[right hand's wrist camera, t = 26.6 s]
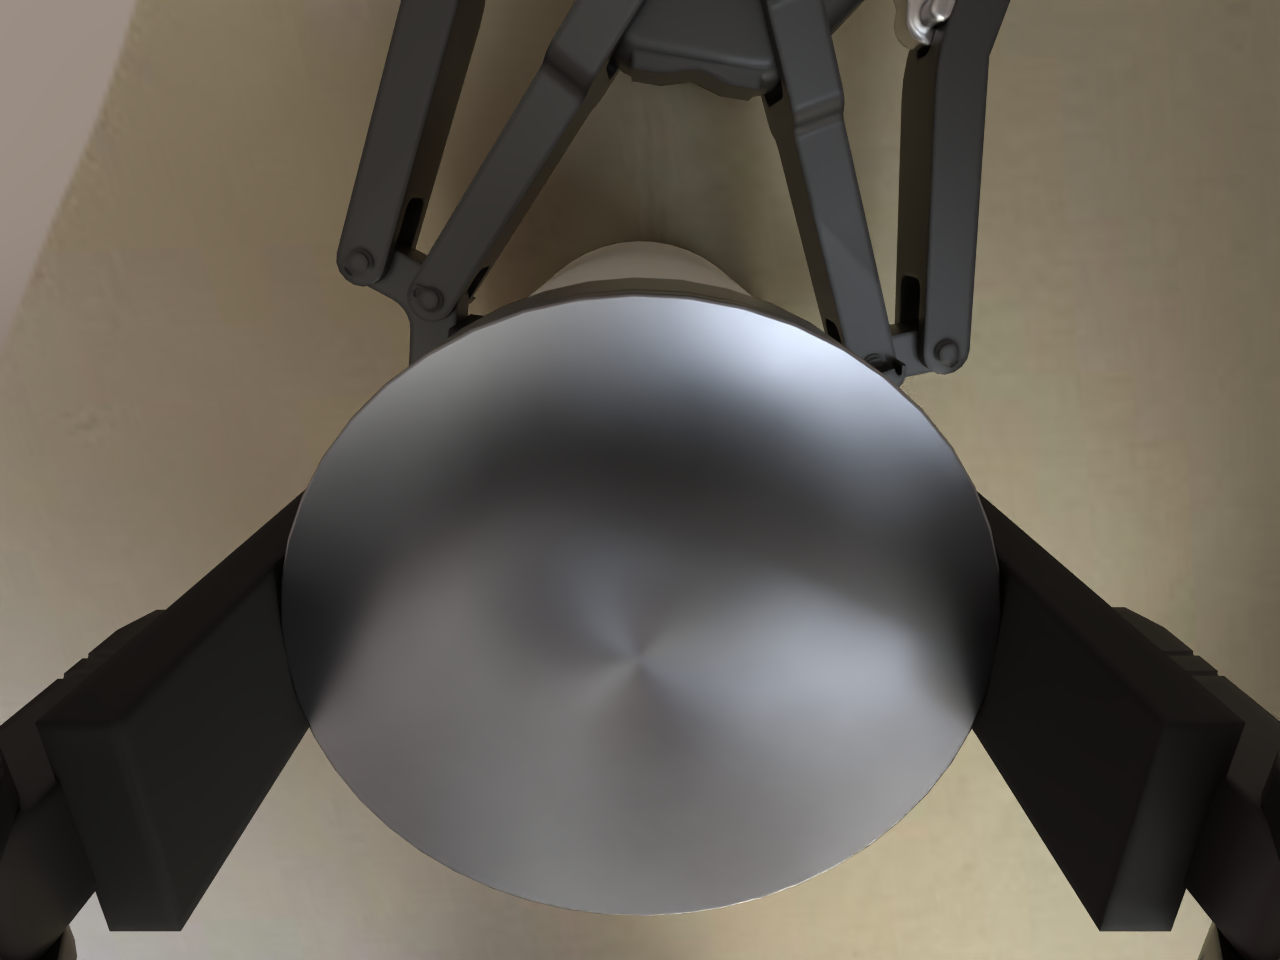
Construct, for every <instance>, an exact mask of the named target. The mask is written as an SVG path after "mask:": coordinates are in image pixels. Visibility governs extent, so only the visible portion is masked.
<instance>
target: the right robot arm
mask: <svg viewBox="0 0 1280 960" xmlns="http://www.w3.org/2000/svg"><path fill="white" fill-rule="evenodd" d="M304 492H305V490H304V491H303V492H302V493H301V494H300V495H299V496H297V497H296V498H295V499H294V500H293V501H292V502H290V503H289V504H288V505H287V506H286V507H285V508H283V509H282V510H281V511H280V512H279V513H278V514H277V515H275V516H274V517H273V518H272V519H271V520H270V521H268V522H267V523H266V524H265V525H264V526H263V527H261V528H260V529H259V530H258V531H257V532H256V533H254V534H253V535H252V536H251V537H250V538H249V539H247V540H246V541H245V542H244V543H243V544H242V545H240V546H239V547H238V548H237V549H236V550H235V551H234V552H232V553H231V554H230V555H229V556H228V557H227V558H225V559H224V560H223V561H222V562H221V563H220V564H218V565H217V566H216V567H215V568H214V569H213V570H211V571H210V572H209V573H208V574H207V575H206V576H204V577H203V578H202V579H201V580H200V581H199V582H198V583H196V584H195V585H194V586H193V587H192V588H191V589H189V590H188V591H187V592H186V593H185V594H184V595H182V596H181V597H180V598H179V599H178V600H177V601H175V602H174V603H173V604H172V605H171V606H170V607H168V608H167V609H166V610H155V611H153V612H151V613H149V614H148V615H146V616H144V617H142V618H140V619H138V620H136V621H134V622H132V623H130V624H128V625H126V626H124V627H122V628H120V629H118V630H117V631H115V632H114V633H113V634H112V635H111V636H109V637H108V638H107V639H106V640H104V641H103V642H102V643H101V644H100V645H98V646H97V647H96V648H95V649H93V650H92V651H91V652H90V653H89V654H88V655H89V656H88V658H82V659H81V660H80V661H79V662H78V663H76V664H75V665H74V666H73V667H72V668H70V669H69V670H68V671H67V672H65V673H64V678H63V679H57V680H56V681H54V682H53V683H52V684H51V685H50V686H48V687H47V688H46V689H45V690H43V691H42V692H41V693H40V694H39V695H37V696H36V697H35V698H34V699H32V700H31V701H30V702H29V703H28V704H26V705H25V706H24V707H23V708H21V709H20V710H19V711H18V712H17V713H15V714H14V715H13V716H12V717H10V718H9V719H8V720H7V721H6V722H4V723H3V724H2V725H1V726H0V960H76V959H77V953H76V946H75V939H74V937H73V934H72V931H71V929H70V926H69V924H70V922H71V921H72V920H73V919H74V917H75V916H76V915H77V913H78V912H79V911H80V910H81V908H82V907H83V906H84V905H85V903H86V902H87V901H88V900H89V898H90V897H91V896H92V894H93V893H94V892H95V891H96V894H97V897H98V900H99V903H100V905H101V908H102V911H103V914H104V916H105V919H106V922H107V925H108V928H109V930H110V931H181V930H182V928H183V927H184V925H185V924H186V922H187V920H188V919H189V917H190V916H191V914H192V912H193V911H194V909H195V908H196V906H197V905H198V903H199V901H200V900H201V898H202V897H203V895H204V893H205V892H206V890H207V889H208V887H209V885H210V884H211V882H212V881H213V879H214V878H215V876H216V874H217V873H218V871H219V870H220V868H221V866H222V865H223V863H224V862H225V860H226V858H227V857H228V855H229V854H230V852H231V850H232V849H233V847H234V846H235V844H236V843H237V841H238V839H239V838H240V836H241V835H242V833H243V831H244V830H245V828H246V827H247V825H248V823H249V822H250V820H251V819H252V817H253V816H254V814H255V812H256V811H257V809H258V808H259V806H260V804H261V803H262V801H263V800H264V798H265V796H266V795H267V793H268V792H269V790H270V789H271V787H272V785H273V784H274V782H275V781H276V779H277V777H278V776H279V774H280V773H281V771H282V769H283V768H284V766H285V765H286V763H287V762H288V760H289V758H290V757H291V755H292V754H293V752H294V750H295V749H296V747H297V746H298V744H299V742H300V741H301V739H302V738H303V736H304V735H305V733H306V731H307V730H308V728H309V725H308V722H307V720H306V718H305V716H304V714H303V712H302V709H301V707H300V705H299V703H298V700H297V697H296V694H295V690H294V687H293V684H292V680H291V677H290V672H289V668H288V663H287V658H286V653H285V647H284V642H283V636H282V629H281V578H282V572H283V566H284V560H285V554H286V548H287V542H288V537H289V534H290V531H291V528H292V525H293V522H294V519H295V516H296V513H297V510H298V507H299V504H300V501H301V498H302V496H303V494H304ZM977 493H978V492H977ZM978 496H979V499H980V501H981V504H982V507H983V509H984V512H985V515H986V517H987V520H988V522H989V525H990V528H991V532H992V537H993V542H994V547H995V551H996V556H997V561H998V566H999V573H1000V594H1001V622H1000V631H999V637H998V642H997V648H996V654H995V658H994V663H993V668H992V672H991V677H990V681H989V686H988V690H987V694H986V696H985V698H984V701H983V703H982V705H981V708H980V710H979V713H978V715H977V717H976V720H975V722H974V724H973V727H972V729H973V731H974V732H975V734H976V735H977V737H978V739H979V740H980V742H981V743H982V745H983V746H984V748H985V750H986V751H987V753H988V754H989V756H990V758H991V759H992V761H993V762H994V764H995V766H996V767H997V769H998V770H999V772H1000V773H1001V775H1002V777H1003V778H1004V780H1005V781H1006V783H1007V785H1008V786H1009V788H1010V789H1011V791H1012V793H1013V794H1014V796H1015V797H1016V799H1017V800H1018V802H1019V804H1020V805H1021V807H1022V808H1023V810H1024V812H1025V813H1026V815H1027V816H1028V818H1029V820H1030V821H1031V823H1032V824H1033V826H1034V827H1035V829H1036V831H1037V832H1038V834H1039V835H1040V837H1041V839H1042V840H1043V842H1044V843H1045V845H1046V847H1047V848H1048V850H1049V851H1050V853H1051V855H1052V856H1053V858H1054V859H1055V861H1056V862H1057V864H1058V866H1059V867H1060V869H1061V870H1062V872H1063V874H1064V875H1065V877H1066V878H1067V880H1068V882H1069V883H1070V885H1071V886H1072V888H1073V889H1074V891H1075V893H1076V894H1077V896H1078V897H1079V899H1080V901H1081V902H1082V904H1083V905H1084V907H1085V909H1086V910H1087V912H1088V913H1089V915H1090V916H1091V918H1092V920H1093V921H1094V923H1095V924H1096V926H1097V928H1098V929H1099V931H1171V929H1172V927H1173V924H1174V921H1175V918H1176V915H1177V913H1178V910H1179V907H1180V904H1181V901H1182V899H1183V896H1184V893H1185V890H1186V888H1187V890H1188V891H1189V892H1190V893H1191V895H1192V896H1193V897H1194V898H1195V900H1196V901H1197V902H1198V903H1199V905H1200V906H1201V907H1202V908H1203V910H1204V911H1205V912H1206V914H1207V915H1208V916H1209V917H1210V919H1211V920H1212V924H1211V926H1210V929H1209V931H1208V934H1207V937H1206V939H1205V942H1204V944H1203V947H1202V950H1201V952H1200V955H1199V957H1198V960H1280V721H1279V720H1277V719H1276V718H1275V717H1274V716H1272V715H1271V714H1270V713H1269V712H1268V711H1266V710H1265V709H1264V708H1263V707H1261V706H1260V705H1259V704H1258V703H1256V702H1255V701H1254V700H1253V699H1252V698H1250V697H1249V696H1248V695H1247V694H1245V693H1244V692H1243V691H1242V690H1240V689H1239V688H1238V687H1237V686H1236V685H1234V684H1233V683H1232V682H1231V681H1229V680H1228V679H1227V678H1226V677H1224V676H1218V673H1217V672H1218V671H1217V670H1216V669H1215V668H1213V667H1212V666H1211V665H1210V664H1209V663H1207V662H1206V661H1205V660H1204V659H1202V658H1201V657H1200V656H1194V655H1193V650H1191V649H1190V648H1189V647H1188V646H1186V645H1185V644H1184V643H1183V642H1181V641H1180V640H1179V639H1178V638H1177V637H1175V636H1174V635H1173V634H1172V633H1170V632H1169V631H1168V630H1167V629H1165V628H1164V627H1162V626H1160V625H1158V624H1156V623H1154V622H1153V621H1151V620H1149V619H1147V618H1145V617H1143V616H1141V615H1139V614H1137V613H1135V612H1133V611H1131V610H1129V609H1127V608H1125V607H1111V606H1110V605H1109V604H1107V603H1106V602H1105V601H1104V600H1103V599H1102V598H1100V597H1099V596H1098V595H1097V594H1096V593H1095V592H1093V591H1092V590H1091V589H1090V588H1089V587H1088V586H1086V585H1085V584H1084V583H1083V582H1082V581H1081V580H1080V579H1078V578H1077V577H1076V576H1075V575H1074V574H1073V573H1071V572H1070V571H1069V570H1068V569H1067V568H1066V567H1064V566H1063V565H1062V564H1061V563H1060V562H1059V561H1057V560H1056V559H1055V558H1054V557H1053V556H1052V555H1050V554H1049V553H1048V552H1047V551H1046V550H1045V549H1044V548H1042V547H1041V546H1040V545H1039V544H1038V543H1037V542H1035V541H1034V540H1033V539H1032V538H1031V537H1030V536H1028V535H1027V534H1026V533H1025V532H1024V531H1023V530H1021V529H1020V528H1019V527H1018V526H1017V525H1016V524H1014V523H1013V522H1012V521H1011V520H1010V519H1009V518H1007V517H1006V516H1005V515H1004V514H1003V513H1002V512H1001V511H999V510H998V509H997V508H996V507H995V506H994V505H992V504H991V503H990V502H989V501H988V500H987V499H985V498H984V497H983V496H982V495H981V494H980V493H978Z"/></svg>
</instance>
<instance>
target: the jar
mask: <svg viewBox="0 0 1280 960" xmlns="http://www.w3.org/2000/svg"><path fill="white" fill-rule="evenodd" d="M633 277H638V278H658V279H678V280H686V281H691V282H696V283H702V284H707V285H712V286H718V287H723V288H728V289H731V290H734V291H737V292H740V293H743V294H745V295H748V296H751V295H750V294H749V293H748V292H746V291H745V290H744V289H743V288H742V287H740V286H739V285H738V284H737V283H736V282H735V281H733V280H732V279H731V278H730V277H729V276H727V275H726V274H725V273H724V272H723V271H721V270H720V269H719V268H718V267H716V266H715V265H713V264H712V263H710V262H709V261H707V260H706V259H704V258H703V257H701V256H699V255H697V254H694V253H692V252H690V251H688V250H685V249H682V248H679V247H676V246H673V245H669V244H663V243H658V242H644V241H634V242H624V243H617V244H613V245H609V246H605V247H601V248H599V249H596V250H594V251H591V252H589V253H586V254H584V255H583V256H581V257H579V258H577V259H575V260H574V261H572V262H570V263H569V264H568V265H566V266H565V267H564V268H562V269H561V270H560V271H559V272H557V273H556V274H555V275H554V276H552V277H551V278H550V279H549V280H548V281H547V282H545V283H544V284H543V285H542V286H541V287H539V288H538V289H537V290H536V291H535V292H533V293H532V294H531V295H530V296H532V295H535V294H538V293H540V292H543V291H547V290H552V289H556V288H561V287H565V286H570V285H574V284H578V283H583V282H587V281H597V280H609V279H621V278H633ZM530 296H529V297H530ZM751 297H752V296H751Z"/></svg>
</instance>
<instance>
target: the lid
mask: <svg viewBox="0 0 1280 960" xmlns="http://www.w3.org/2000/svg"><path fill="white" fill-rule="evenodd" d="M1000 622H1001V594H1000V573H999V566H998V561H997V556H996V551H995V547H994V542H993V537H992V532H991V528H990V525H989V522H988V520H987V517H986V515H985V512H984V509H983V507H982V504H981V501H980V499H979V496H978V493H977V491H976V488H975V486H974V484H973V482H972V481H971V479H970V477H969V475H968V474H967V472H966V470H965V468H964V467H963V465H962V463H961V461H960V460H959V458H958V456H957V454H956V453H955V451H954V449H953V447H952V446H951V445H950V443H949V442H948V441H947V440H946V438H945V437H944V436H943V435H942V433H941V432H940V431H939V430H938V428H937V427H936V426H935V425H934V423H933V422H932V421H931V419H930V418H929V417H928V416H927V414H926V413H925V412H924V411H923V409H921V408H920V407H919V406H918V405H917V404H916V403H915V402H914V401H913V400H912V399H911V398H910V397H909V396H907V395H906V394H905V393H904V392H903V391H902V390H901V389H900V388H899V387H898V386H897V385H896V384H895V383H894V382H892V381H891V380H890V379H889V378H888V377H887V376H886V375H884V374H883V373H882V372H880V371H879V370H877V369H876V368H875V367H873V366H872V365H870V364H869V363H867V362H866V361H865V360H863V359H862V358H860V357H859V356H858V355H856V354H855V353H853V352H852V351H850V350H849V349H848V348H846V347H845V346H843V345H842V344H840V343H839V342H838V341H836V340H835V339H833V338H832V337H830V336H829V335H827V334H826V333H824V332H823V331H822V330H820V329H819V328H817V327H816V326H814V325H813V324H811V323H810V322H808V321H806V320H804V319H802V318H800V317H798V316H796V315H794V314H792V313H790V312H788V311H786V310H784V309H782V308H780V307H778V306H776V305H774V304H772V303H769V302H766V301H763V300H760V299H757V298H754V297H751V296H748V295H745V294H743V293H740V292H737V291H734V290H731V289H728V288H723V287H718V286H712V285H707V284H702V283H696V282H691V281H686V280H678V279H658V278H638V277H633V278H621V279H609V280H597V281H587V282H583V283H578V284H574V285H570V286H565V287H561V288H556V289H552V290H547V291H543V292H540V293H538V294H535V295H532V296H530V297H527V298H524V299H522V300H519V301H516V302H514V303H511V304H508V305H506V306H503V307H500V308H499V309H497V310H495V311H493V312H491V313H489V314H488V315H486V316H484V317H482V318H480V319H478V320H476V321H475V322H473V323H471V324H469V325H467V326H465V327H464V328H462V329H460V330H459V331H457V332H456V333H455V334H453V335H452V336H450V337H449V338H448V339H446V340H445V341H443V342H442V343H440V344H439V345H438V346H436V347H435V348H433V349H432V350H431V351H429V352H428V353H426V354H425V355H424V356H422V357H421V358H420V359H418V360H417V361H415V362H414V363H413V364H411V365H410V366H409V367H407V368H406V369H405V370H403V371H402V372H401V373H399V374H398V375H397V376H395V377H394V378H393V379H391V380H390V381H389V382H387V383H386V384H385V385H384V386H383V387H382V388H381V389H380V390H379V391H378V392H377V393H376V394H375V395H374V396H373V397H372V398H371V399H370V400H369V401H368V402H367V403H366V404H365V405H364V406H363V407H362V408H361V409H360V410H359V411H358V412H357V413H356V414H355V415H354V416H353V417H352V418H351V419H350V420H349V422H348V423H347V424H346V426H345V427H344V428H343V430H342V431H341V433H340V434H339V435H338V437H337V438H336V439H335V441H334V442H333V443H332V445H331V446H330V448H329V449H328V450H327V452H326V453H325V454H324V456H323V457H322V459H321V461H320V463H319V465H318V467H317V469H316V471H315V473H314V475H313V477H312V478H311V480H310V482H309V484H308V486H307V488H306V490H305V492H304V494H303V496H302V498H301V501H300V504H299V507H298V510H297V513H296V516H295V519H294V522H293V525H292V528H291V531H290V534H289V537H288V542H287V548H286V554H285V560H284V566H283V572H282V578H281V629H282V636H283V642H284V647H285V653H286V658H287V663H288V668H289V672H290V677H291V680H292V684H293V687H294V690H295V694H296V697H297V700H298V703H299V705H300V707H301V709H302V712H303V714H304V716H305V718H306V720H307V722H308V725H309V727H310V729H311V731H312V733H313V735H314V737H315V739H316V741H317V742H318V744H319V745H320V747H321V749H322V750H323V752H324V753H325V755H326V756H327V758H328V760H329V761H330V763H331V764H332V766H333V767H334V769H335V771H336V772H337V773H338V774H339V775H340V777H341V778H342V779H343V780H344V781H345V783H346V784H347V785H348V786H349V787H350V789H351V790H352V791H353V792H354V793H355V795H356V796H357V797H358V798H359V799H360V801H361V802H362V803H364V804H365V805H366V806H367V807H368V808H369V809H370V810H371V811H372V812H373V813H374V814H375V815H376V816H377V817H378V818H379V819H381V820H382V821H383V822H384V823H385V824H386V825H387V826H388V827H389V828H390V829H392V830H393V831H394V832H396V833H397V834H398V835H400V836H401V837H402V838H404V839H405V840H406V841H408V842H409V843H410V844H412V845H413V846H414V847H416V848H417V849H418V850H420V851H421V852H423V853H425V854H426V855H428V856H430V857H431V858H433V859H435V860H436V861H438V862H440V863H442V864H443V865H445V866H447V867H448V868H450V869H452V870H453V871H455V872H458V873H460V874H462V875H464V876H466V877H469V878H471V879H473V880H475V881H477V882H479V883H482V884H484V885H486V886H488V887H490V888H493V889H496V890H499V891H502V892H505V893H508V894H511V895H514V896H517V897H520V898H523V899H526V900H529V901H534V902H538V903H542V904H547V905H551V906H555V907H560V908H564V909H569V910H577V911H584V912H592V913H600V914H611V915H638V916H650V915H667V914H684V913H691V912H698V911H704V910H711V909H717V908H723V907H728V906H732V905H735V904H739V903H743V902H747V901H751V900H755V899H759V898H763V897H766V896H768V895H771V894H774V893H776V892H779V891H782V890H785V889H787V888H790V887H793V886H796V885H798V884H801V883H803V882H805V881H807V880H809V879H811V878H813V877H815V876H817V875H819V874H821V873H823V872H826V871H828V870H830V869H832V868H834V867H836V866H837V865H839V864H841V863H842V862H844V861H845V860H847V859H849V858H850V857H852V856H853V855H855V854H857V853H858V852H860V851H861V850H863V849H865V848H866V847H868V846H869V845H871V844H872V843H873V842H874V841H876V840H877V839H878V838H879V837H881V836H882V835H883V834H884V833H886V832H887V831H888V830H890V829H891V828H892V827H893V826H895V825H896V824H897V823H898V822H900V821H901V820H902V819H903V818H904V817H905V816H906V815H907V814H908V813H909V812H910V811H911V810H912V809H913V808H914V807H915V806H916V805H917V804H918V803H919V802H920V801H921V800H922V799H923V798H924V797H925V796H926V795H927V794H928V792H929V791H930V790H931V789H932V787H933V786H934V785H935V783H936V782H937V781H938V780H939V778H940V777H941V776H942V774H943V773H944V772H945V771H946V769H947V768H948V767H949V765H950V764H951V763H952V761H953V760H954V758H955V756H956V755H957V753H958V751H959V749H960V748H961V746H962V744H963V743H964V741H965V739H966V738H967V736H968V734H969V733H970V731H971V729H972V727H973V724H974V722H975V720H976V717H977V715H978V713H979V710H980V708H981V705H982V703H983V701H984V698H985V696H986V694H987V690H988V686H989V681H990V677H991V672H992V668H993V663H994V658H995V654H996V648H997V642H998V637H999V631H1000Z"/></svg>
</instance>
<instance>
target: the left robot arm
mask: <svg viewBox="0 0 1280 960" xmlns="http://www.w3.org/2000/svg"><path fill="white" fill-rule="evenodd" d="M863 1H864V0H576V1H575V3H574V4H573V6H572V8H571V9H570V11H569V13H568V14H567V16H566V18H565V19H564V21H563V23H562V24H561V26H560V28H559V29H558V31H557V33H556V34H555V36H554V38H553V39H552V41H551V43H550V45H549V47H548V49H547V51H546V54H545V57H544V60H543V63H542V65H541V67H540V69H539V71H538V73H537V74H536V76H535V78H534V79H533V81H532V83H531V84H530V86H529V88H528V89H527V91H526V93H525V94H524V96H523V98H522V99H521V101H520V103H519V104H518V106H517V108H516V109H515V111H514V113H513V114H512V116H511V118H510V119H509V121H508V123H507V124H506V126H505V128H504V129H503V131H502V132H501V134H500V136H499V137H498V139H497V141H496V142H495V144H494V146H493V147H492V149H491V151H490V152H489V154H488V156H487V157H486V159H485V161H484V162H483V164H482V166H481V167H480V169H479V171H478V172H477V174H476V176H475V177H474V179H473V181H472V182H471V184H470V186H469V187H468V189H467V191H466V192H465V194H464V196H463V197H462V199H461V201H460V202H459V204H458V206H457V207H456V209H455V211H454V212H453V214H452V216H451V217H450V219H449V221H448V222H447V224H446V226H445V227H444V229H443V230H442V232H441V234H440V235H439V237H438V239H437V240H436V242H435V244H434V245H433V247H432V249H431V250H430V252H429V254H428V255H425V254H423V253H422V252H420V251H418V250H416V249H415V248H416V244H417V241H418V237H419V234H420V231H421V227H422V224H423V220H424V217H425V213H426V210H427V207H428V203H429V200H430V196H431V193H432V189H433V186H434V182H435V179H436V176H437V172H438V169H439V165H440V162H441V158H442V155H443V152H444V148H445V145H446V141H447V138H448V134H449V131H450V127H451V124H452V121H453V117H454V114H455V110H456V107H457V103H458V100H459V97H460V93H461V90H462V86H463V83H464V79H465V76H466V72H467V69H468V66H469V62H470V59H471V55H472V52H473V48H474V45H475V42H476V38H477V35H478V31H479V28H480V24H481V20H482V15H483V11H484V7H485V0H401V4H400V7H399V11H398V15H397V19H396V23H395V27H394V31H393V35H392V39H391V43H390V47H389V51H388V55H387V58H386V62H385V66H384V70H383V74H382V78H381V82H380V86H379V90H378V94H377V98H376V102H375V105H374V109H373V113H372V117H371V121H370V125H369V129H368V133H367V137H366V141H365V145H364V149H363V152H362V156H361V160H360V164H359V168H358V172H357V176H356V180H355V184H354V188H353V192H352V196H351V200H350V203H349V207H348V211H347V215H346V219H345V223H344V227H343V231H342V235H341V239H340V243H339V247H338V250H337V265H338V268H339V271H340V273H341V274H342V275H343V276H344V278H345V279H346V280H348V281H349V282H351V283H352V284H354V285H358V286H368V287H370V288H372V289H374V290H376V291H378V292H380V293H382V294H383V295H385V296H387V297H389V298H391V299H393V300H394V301H396V302H397V303H398V304H399V305H400V306H401V307H402V308H403V309H404V310H405V312H406V314H407V315H408V318H409V322H410V355H409V366H410V365H411V364H413V363H414V362H415V361H417V360H418V359H420V358H421V357H422V356H424V355H425V354H426V353H428V352H429V351H431V350H432V349H433V348H435V347H436V346H438V345H439V344H440V343H442V342H443V341H445V340H446V339H448V338H449V337H450V336H452V335H453V334H455V333H456V332H457V331H459V330H460V329H462V328H464V327H465V326H467V325H469V324H471V323H473V322H475V321H476V320H478V319H480V318H482V317H484V316H480V315H473V314H471V315H469V316H468V305H469V304H470V303H471V302H472V301H473V300H474V299H475V297H473V296H474V294H475V293H476V291H477V290H478V288H479V287H480V285H481V283H482V282H483V280H484V279H485V277H486V276H487V274H488V272H489V271H490V269H491V268H492V266H493V265H494V263H495V261H496V260H497V258H498V257H499V255H500V253H501V252H502V250H503V249H504V247H505V246H506V244H507V242H508V241H509V239H510V238H511V236H512V235H513V233H514V231H515V230H516V228H517V227H518V225H519V224H520V222H521V220H522V219H523V217H524V216H525V214H526V213H527V211H528V209H529V208H530V206H531V205H532V203H533V202H534V200H535V198H536V197H537V195H538V194H539V192H540V191H541V189H542V187H543V186H544V184H545V183H546V181H547V180H548V178H549V176H550V175H551V173H552V172H553V170H554V169H555V167H556V165H557V164H558V162H559V161H560V159H561V157H562V156H563V154H564V153H565V151H566V150H567V148H568V146H569V145H570V143H571V142H572V140H573V139H574V137H575V135H576V134H577V132H578V131H579V129H580V128H581V126H582V124H583V123H584V121H585V120H586V118H587V117H588V115H589V114H590V112H591V111H592V109H593V108H594V107H595V106H596V105H597V104H598V102H599V101H600V100H601V98H602V97H603V95H604V94H605V92H606V91H607V89H608V88H609V86H610V84H611V83H612V81H613V80H614V78H615V77H616V75H617V73H618V72H619V70H621V71H623V72H624V73H626V74H628V75H630V76H631V77H632V81H634V82H640V83H646V84H652V85H658V86H664V85H672V84H680V83H688V82H692V83H695V84H697V85H699V86H701V87H703V88H705V89H707V90H709V91H711V92H713V93H715V94H717V95H719V96H723V97H728V98H734V99H740V100H746V101H749V100H750V99H751V98H752V97H754V96H760V95H761V97H762V101H763V105H764V109H765V113H766V117H767V121H768V124H769V127H770V130H771V133H772V135H773V137H774V139H775V141H776V143H777V146H778V150H779V154H780V158H781V162H782V166H783V170H784V174H785V178H786V181H787V185H788V189H789V193H790V197H791V201H792V205H793V209H794V213H795V217H796V221H797V225H798V229H799V233H800V237H801V240H802V244H803V248H804V252H805V256H806V260H807V264H808V268H809V272H810V276H811V280H812V284H813V288H814V292H815V296H816V300H817V303H818V307H819V311H820V315H821V319H822V323H823V327H824V331H825V333H826V334H827V335H829V336H830V337H832V338H833V339H835V340H836V341H838V342H839V343H840V344H842V345H843V346H845V347H846V348H848V349H849V350H850V351H852V352H853V353H855V354H856V355H858V356H859V357H860V358H862V359H863V360H865V361H866V362H867V363H869V364H870V365H872V366H873V367H875V368H876V369H877V370H879V371H880V372H882V373H883V374H884V375H886V376H887V377H888V378H889V379H890V380H891V381H892V382H894V383H895V384H896V385H897V386H898V387H899V386H900V385H901V384H902V383H903V381H904V379H905V377H908V376H913V375H918V374H923V373H928V372H935V373H937V374H949V373H952V372H955V371H956V370H958V369H959V368H960V367H962V365H963V364H964V363H965V361H966V360H967V358H968V354H969V349H970V335H971V320H972V305H973V290H974V275H975V260H976V245H977V230H978V215H979V200H980V185H981V170H982V155H983V140H984V125H985V110H986V95H987V80H988V65H989V55H990V53H991V50H992V47H993V45H994V42H995V39H996V37H997V34H998V31H999V29H1000V26H1001V24H1002V21H1003V18H1004V16H1005V13H1006V10H1007V8H1008V5H1009V2H1010V0H894V3H895V9H896V13H895V24H894V29H895V35H896V37H897V39H898V41H899V42H900V43H901V44H902V45H903V46H904V47H906V48H908V49H910V51H909V54H908V58H907V62H906V68H905V73H904V78H903V89H902V106H901V139H900V172H899V205H898V238H897V271H896V304H895V324H892V325H889V322H888V317H887V313H886V308H885V304H884V299H883V295H882V290H881V286H880V281H879V277H878V272H877V268H876V263H875V259H874V254H873V250H872V245H871V241H870V236H869V232H868V227H867V223H866V218H865V214H864V209H863V205H862V200H861V196H860V191H859V187H858V182H857V178H856V173H855V169H854V164H853V160H852V155H851V151H850V146H849V142H848V137H847V133H846V128H845V124H844V118H843V111H844V93H843V87H842V82H841V78H840V73H839V69H838V64H837V60H836V55H835V51H834V46H833V41H832V37H831V35H832V34H833V33H834V32H835V31H836V30H837V29H838V28H839V27H840V26H841V25H842V24H843V23H844V21H845V20H846V19H847V18H848V17H849V16H850V15H851V14H852V13H853V12H854V11H855V10H856V9H857V8H858V6H859V5H860V4H861V3H862V2H863Z"/></svg>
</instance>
